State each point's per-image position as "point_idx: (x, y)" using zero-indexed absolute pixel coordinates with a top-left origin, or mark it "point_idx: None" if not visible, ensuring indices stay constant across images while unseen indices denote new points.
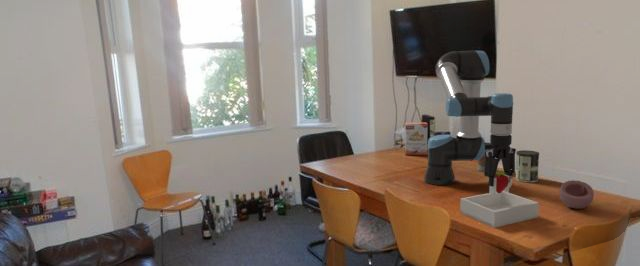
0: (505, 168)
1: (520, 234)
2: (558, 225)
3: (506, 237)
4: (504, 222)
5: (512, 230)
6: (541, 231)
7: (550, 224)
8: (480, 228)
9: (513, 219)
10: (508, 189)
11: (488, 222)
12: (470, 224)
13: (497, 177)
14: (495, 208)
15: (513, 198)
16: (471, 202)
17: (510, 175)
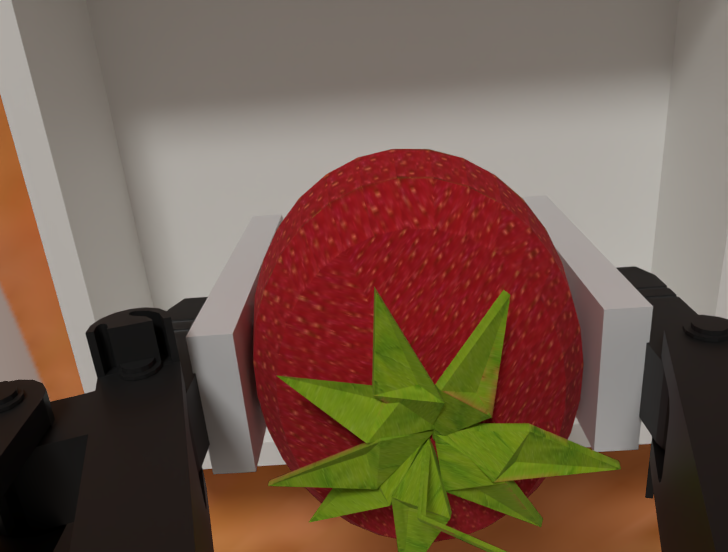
0: (674, 503)
1: (261, 530)
2: (636, 514)
3: None
4: None
5: (258, 466)
6: (433, 543)
7: (604, 483)
8: (44, 355)
9: None
10: None
11: None
12: (4, 256)
13: (293, 464)
14: (462, 52)
15: (721, 113)
16: (22, 137)
17: (648, 479)
